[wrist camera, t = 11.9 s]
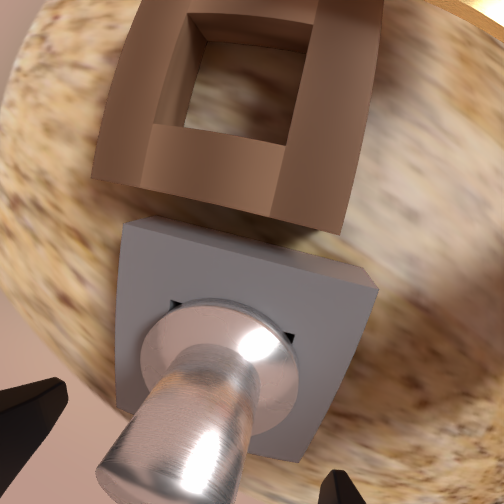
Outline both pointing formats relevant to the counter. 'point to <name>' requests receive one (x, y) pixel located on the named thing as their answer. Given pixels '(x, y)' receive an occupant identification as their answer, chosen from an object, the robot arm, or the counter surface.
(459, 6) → the brass key
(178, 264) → the grey square collar
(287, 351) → the steel pin
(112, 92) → the walnut socket block
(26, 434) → the robot arm
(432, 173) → the counter surface
